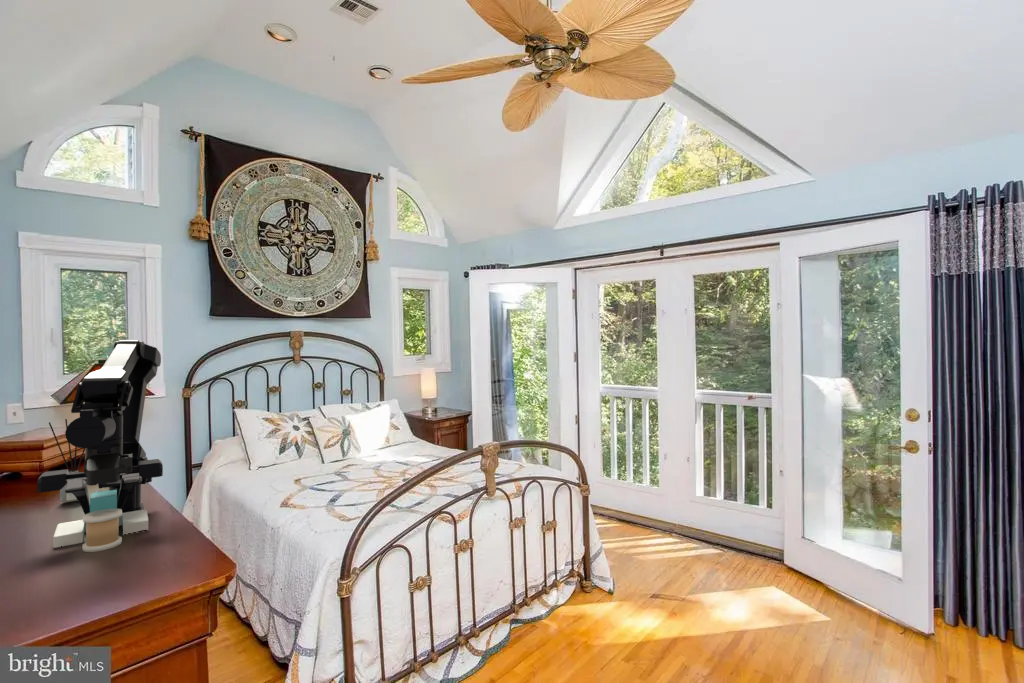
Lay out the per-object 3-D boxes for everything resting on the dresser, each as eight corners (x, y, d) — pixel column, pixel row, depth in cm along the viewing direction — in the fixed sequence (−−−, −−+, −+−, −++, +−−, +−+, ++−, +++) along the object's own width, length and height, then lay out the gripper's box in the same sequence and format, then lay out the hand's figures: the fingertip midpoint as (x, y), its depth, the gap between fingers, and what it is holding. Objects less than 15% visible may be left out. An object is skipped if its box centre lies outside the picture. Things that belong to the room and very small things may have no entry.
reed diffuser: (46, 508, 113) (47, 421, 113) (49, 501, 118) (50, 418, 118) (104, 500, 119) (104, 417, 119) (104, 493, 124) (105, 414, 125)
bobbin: (83, 545, 91) (83, 512, 91) (121, 537, 95) (122, 506, 95) (81, 554, 87) (81, 520, 87) (121, 546, 90) (122, 513, 91)
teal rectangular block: (90, 523, 98) (91, 493, 98) (116, 518, 100) (116, 489, 100) (89, 530, 94) (90, 498, 94) (116, 525, 96) (116, 495, 96)
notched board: (58, 533, 97) (58, 523, 97) (146, 518, 106) (146, 509, 106) (53, 548, 90) (53, 537, 90) (148, 530, 99) (148, 520, 99)
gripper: (33, 451, 85) (32, 542, 85) (165, 439, 97) (164, 518, 97) (41, 442, 94) (40, 524, 94) (161, 432, 106) (160, 504, 105)
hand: (103, 518), depth 97 cm, fingers closed on teal rectangular block, 4 cm apart
